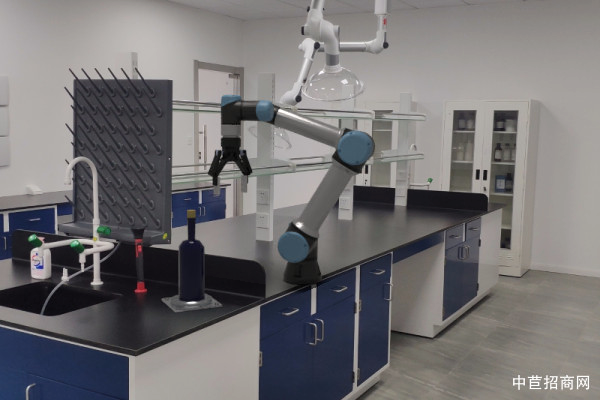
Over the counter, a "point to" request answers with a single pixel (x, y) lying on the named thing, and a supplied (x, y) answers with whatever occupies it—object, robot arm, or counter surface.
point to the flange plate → (190, 303)
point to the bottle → (191, 264)
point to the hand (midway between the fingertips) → (230, 193)
